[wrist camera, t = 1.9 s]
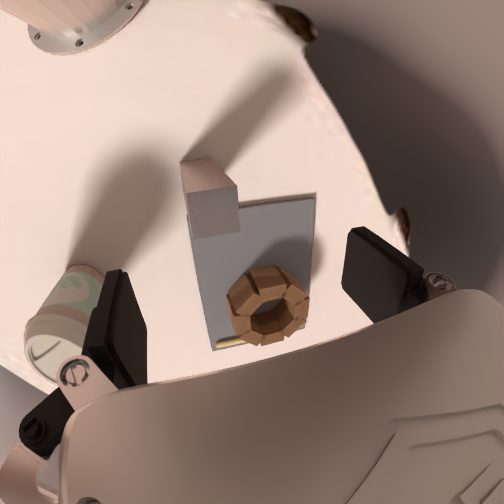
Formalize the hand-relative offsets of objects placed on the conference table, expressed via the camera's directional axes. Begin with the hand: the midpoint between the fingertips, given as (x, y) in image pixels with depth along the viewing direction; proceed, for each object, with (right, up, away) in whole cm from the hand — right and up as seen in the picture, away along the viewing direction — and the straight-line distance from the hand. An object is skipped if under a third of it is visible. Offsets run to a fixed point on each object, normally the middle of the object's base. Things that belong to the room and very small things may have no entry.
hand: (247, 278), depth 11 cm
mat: (+1, -3, +23) cm, 23 cm away
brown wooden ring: (+1, -5, +23) cm, 24 cm away
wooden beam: (-5, +9, +15) cm, 18 cm away
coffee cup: (-19, -3, +16) cm, 25 cm away
